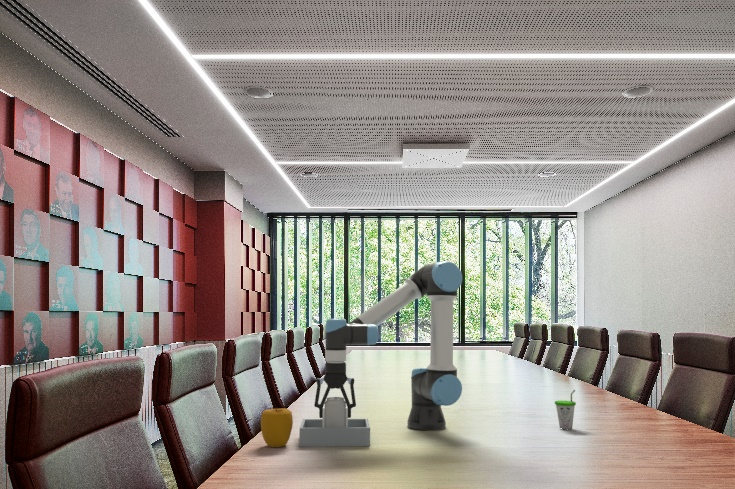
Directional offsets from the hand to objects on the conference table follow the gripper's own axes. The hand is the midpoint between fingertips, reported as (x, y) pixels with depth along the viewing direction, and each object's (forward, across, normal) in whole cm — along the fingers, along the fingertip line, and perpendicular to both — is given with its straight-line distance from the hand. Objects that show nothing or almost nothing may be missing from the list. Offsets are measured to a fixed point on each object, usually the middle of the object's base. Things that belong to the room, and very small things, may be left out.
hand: (335, 427), depth 219 cm
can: (+2, 0, 0) cm, 2 cm away
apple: (+5, +20, +8) cm, 22 cm away
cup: (+5, -90, -19) cm, 92 cm away
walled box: (+5, 0, 0) cm, 5 cm away
